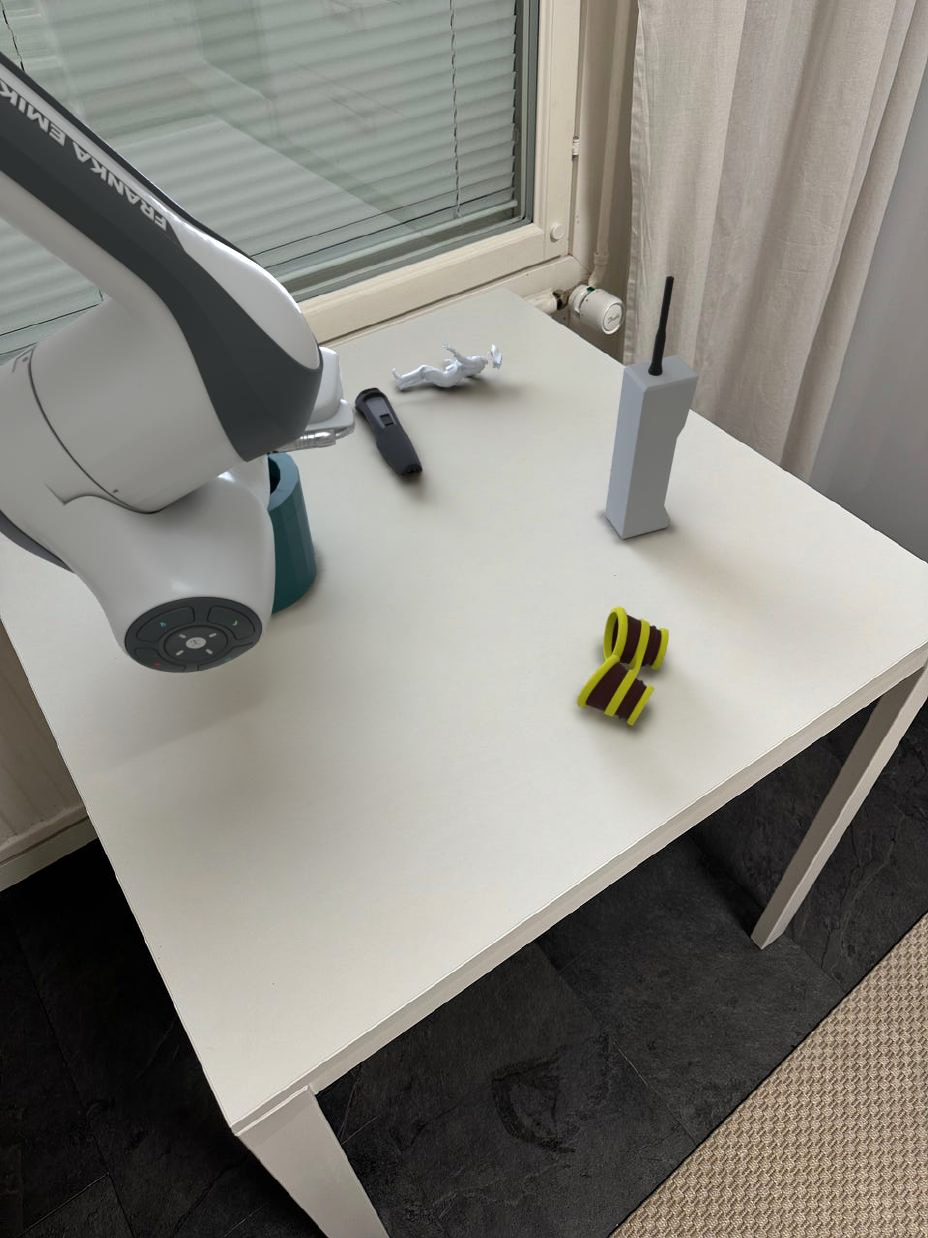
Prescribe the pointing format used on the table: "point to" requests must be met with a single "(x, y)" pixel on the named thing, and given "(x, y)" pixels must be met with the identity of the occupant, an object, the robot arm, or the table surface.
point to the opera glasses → (613, 681)
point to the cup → (289, 532)
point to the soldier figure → (449, 369)
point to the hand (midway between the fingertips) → (198, 347)
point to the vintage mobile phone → (648, 435)
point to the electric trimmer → (388, 432)
